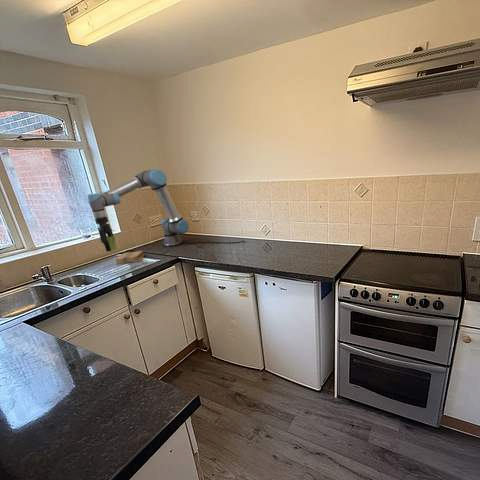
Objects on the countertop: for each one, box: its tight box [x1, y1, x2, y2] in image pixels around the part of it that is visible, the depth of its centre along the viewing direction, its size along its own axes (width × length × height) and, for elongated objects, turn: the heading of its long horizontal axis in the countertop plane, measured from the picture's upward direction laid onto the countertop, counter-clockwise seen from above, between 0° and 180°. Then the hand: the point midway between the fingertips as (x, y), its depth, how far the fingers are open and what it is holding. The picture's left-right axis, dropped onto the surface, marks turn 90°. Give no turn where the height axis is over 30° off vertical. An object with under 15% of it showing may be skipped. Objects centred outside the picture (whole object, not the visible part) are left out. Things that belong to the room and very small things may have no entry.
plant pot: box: [99, 235, 117, 252], centre depth 207 cm, size 9×9×9 cm
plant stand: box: [115, 250, 146, 265], centre depth 232 cm, size 16×16×4 cm
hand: (111, 249), depth 208 cm, fingers closed on plant pot, 8 cm apart
